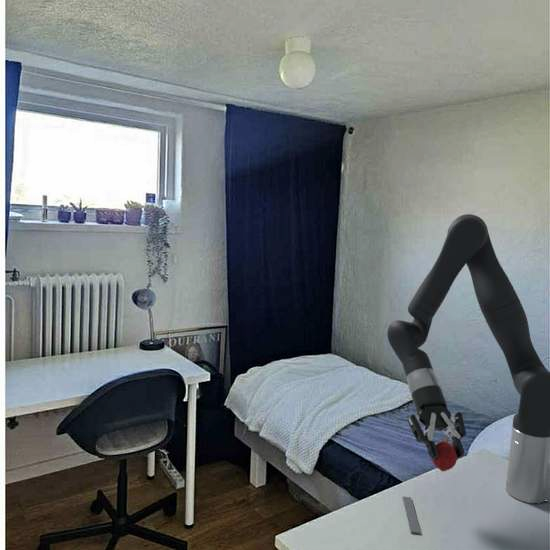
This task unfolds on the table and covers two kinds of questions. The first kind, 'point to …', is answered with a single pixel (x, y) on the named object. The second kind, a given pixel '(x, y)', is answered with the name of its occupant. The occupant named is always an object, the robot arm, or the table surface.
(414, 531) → the flat gray rectangular bar
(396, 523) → the table surface
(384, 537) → the table surface
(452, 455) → the onion
